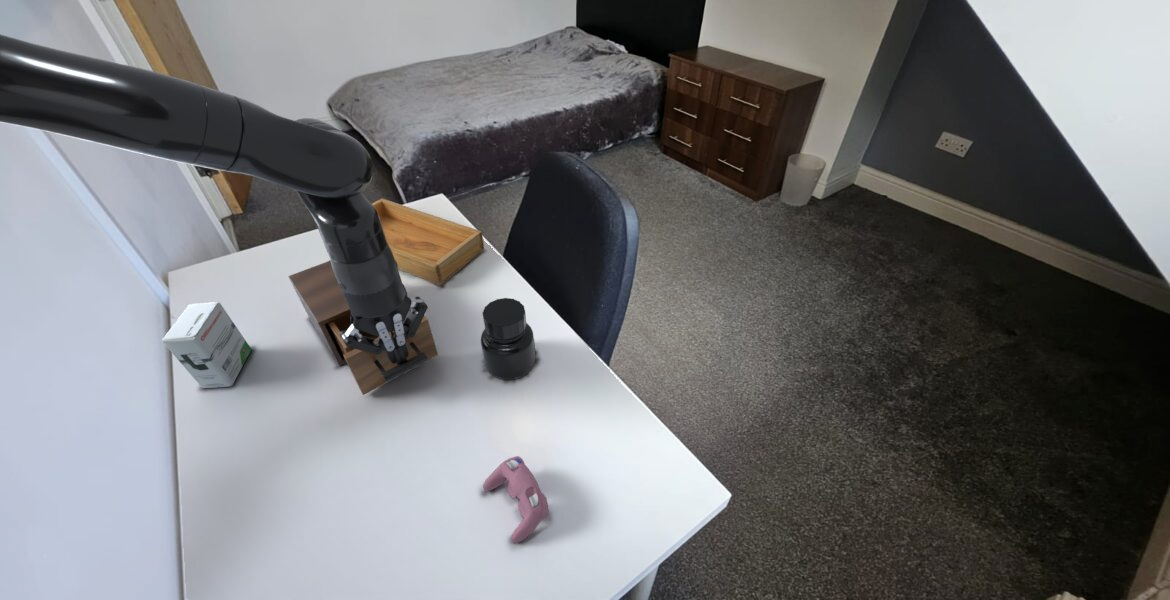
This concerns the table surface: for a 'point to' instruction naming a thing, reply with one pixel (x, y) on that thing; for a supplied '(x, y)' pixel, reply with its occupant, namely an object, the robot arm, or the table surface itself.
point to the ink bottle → (507, 339)
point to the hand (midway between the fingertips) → (399, 359)
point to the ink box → (208, 344)
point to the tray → (427, 241)
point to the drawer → (382, 355)
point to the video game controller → (520, 494)
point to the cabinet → (322, 301)
